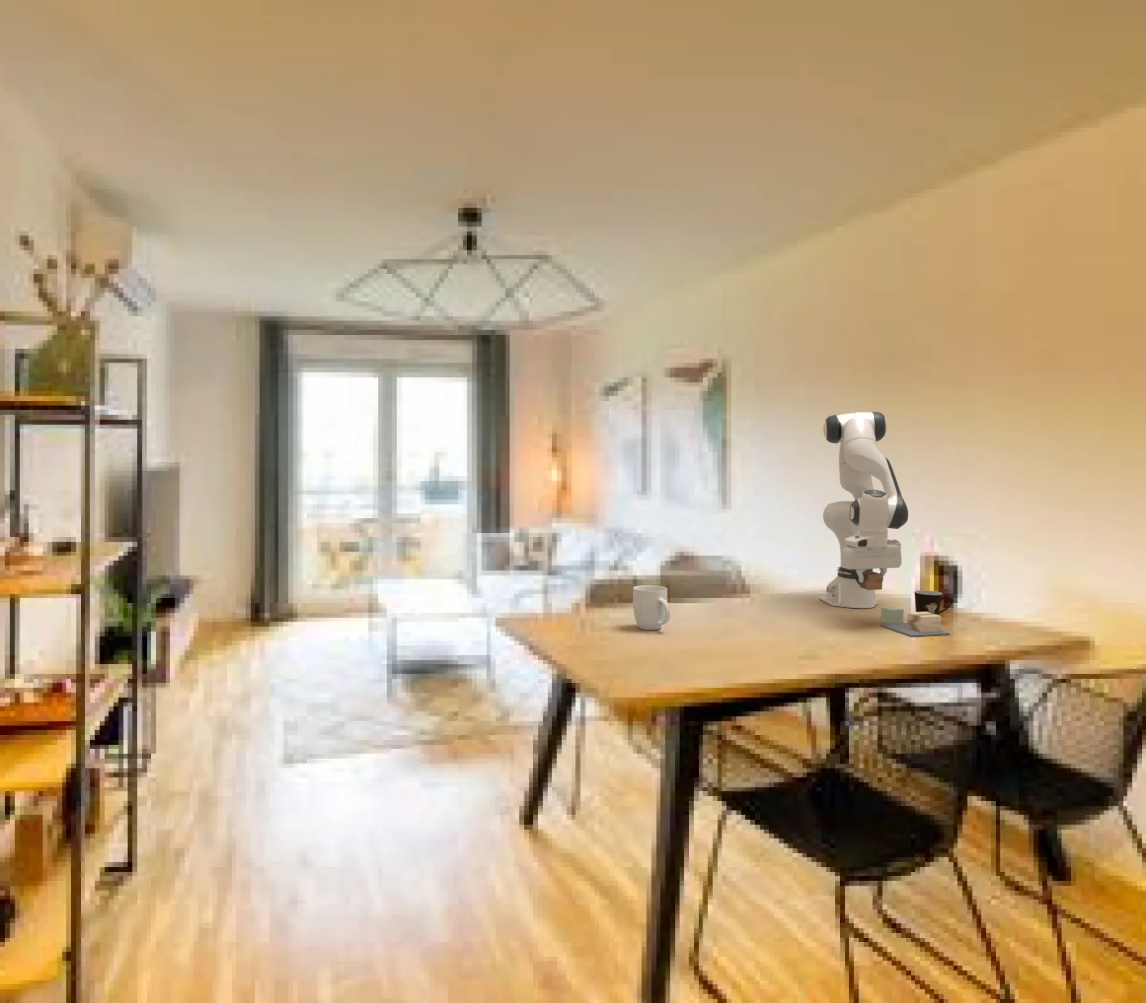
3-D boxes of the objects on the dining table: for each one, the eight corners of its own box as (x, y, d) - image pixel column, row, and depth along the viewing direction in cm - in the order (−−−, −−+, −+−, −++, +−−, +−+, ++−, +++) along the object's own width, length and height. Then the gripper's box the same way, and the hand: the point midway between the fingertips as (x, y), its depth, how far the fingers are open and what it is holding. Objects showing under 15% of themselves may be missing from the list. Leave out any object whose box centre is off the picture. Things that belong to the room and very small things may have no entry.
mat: (880, 626, 272) (880, 624, 272) (917, 624, 275) (917, 622, 275) (911, 637, 256) (911, 635, 256) (949, 635, 260) (950, 633, 260)
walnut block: (859, 587, 273) (860, 572, 272) (873, 586, 274) (873, 571, 273) (868, 590, 268) (869, 574, 267) (882, 589, 269) (882, 574, 268)
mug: (681, 631, 261) (682, 590, 261) (654, 635, 255) (655, 594, 255) (652, 623, 274) (652, 584, 273) (625, 626, 268) (626, 587, 267)
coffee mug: (912, 622, 278) (913, 593, 277) (914, 618, 285) (915, 589, 285) (949, 626, 272) (951, 596, 272) (951, 621, 280) (952, 592, 279)
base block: (907, 627, 267) (908, 612, 267) (926, 626, 269) (926, 611, 268) (921, 632, 260) (922, 617, 260) (940, 631, 262) (941, 616, 261)
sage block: (880, 622, 279) (881, 607, 278) (890, 620, 281) (891, 606, 281) (892, 625, 274) (893, 610, 274) (903, 623, 277) (903, 609, 276)
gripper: (894, 538, 275) (892, 578, 276) (840, 539, 270) (838, 581, 271) (906, 540, 269) (904, 582, 270) (850, 542, 264) (849, 584, 265)
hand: (870, 581), depth 271 cm, fingers closed on walnut block, 5 cm apart
